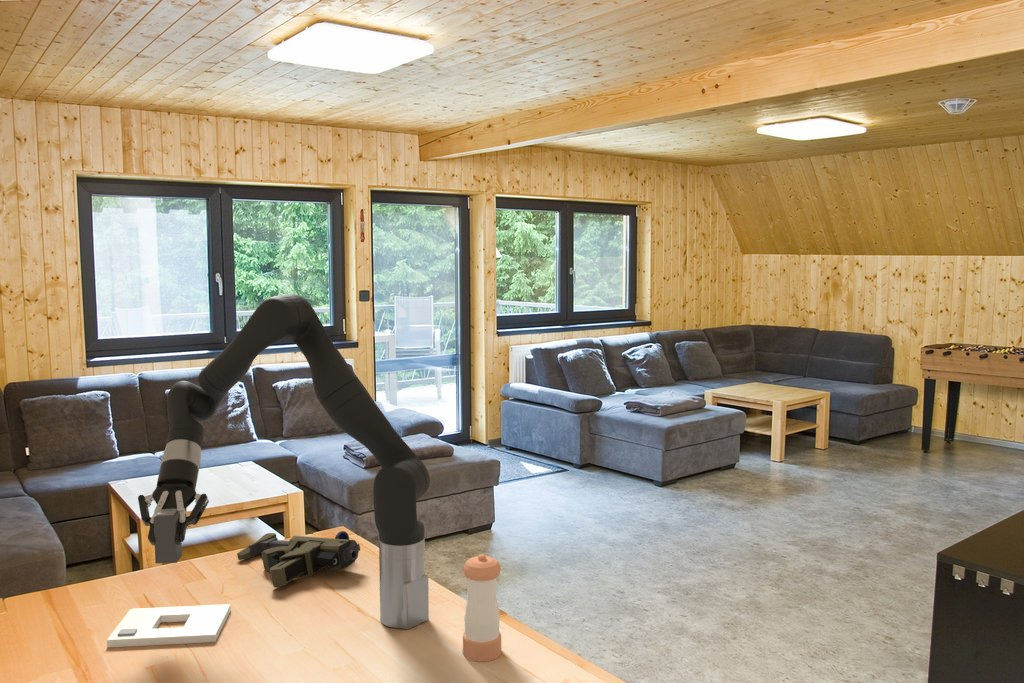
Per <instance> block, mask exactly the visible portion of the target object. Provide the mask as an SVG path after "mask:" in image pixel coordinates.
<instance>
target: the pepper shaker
mask: <svg viewBox="0 0 1024 683" xmlns="http://www.w3.org/2000/svg"><path fill="white" fill-rule="evenodd" d="M463 565H464V566H463V568H462V571H463V574H464V575H465V577H466V579H467V581H466V582H467V587H466V588H467V589H466V590H467V593H466V594H467V599H466V605H465V610H464V612H465V613H464V620H463V622H464V632H463V634H462V654H463V657H465V658H466V659H467V660H469V661H473V662H480V663H481V662H484V663H485V662H491V661H493V660H495V659H497V658H499V657H500V656H501V655H502V634H501V632H500V622H501V621H500V620H501V619H500V617H501V616H500V610H499V603H498V598H497V595H498V594H497V593H498V592H497V584H498V583H497V578H498V577H499V575H500V573H501V570H502V568H501V565H500V563H499V561H498V560H497V559H496V558H494V557H491V556H487V555H486V554H483V553H481V554H478V555H477V556H473V557H470V558H469V559H467V560H466V562H465V563H464V564H463Z"/></svg>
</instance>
